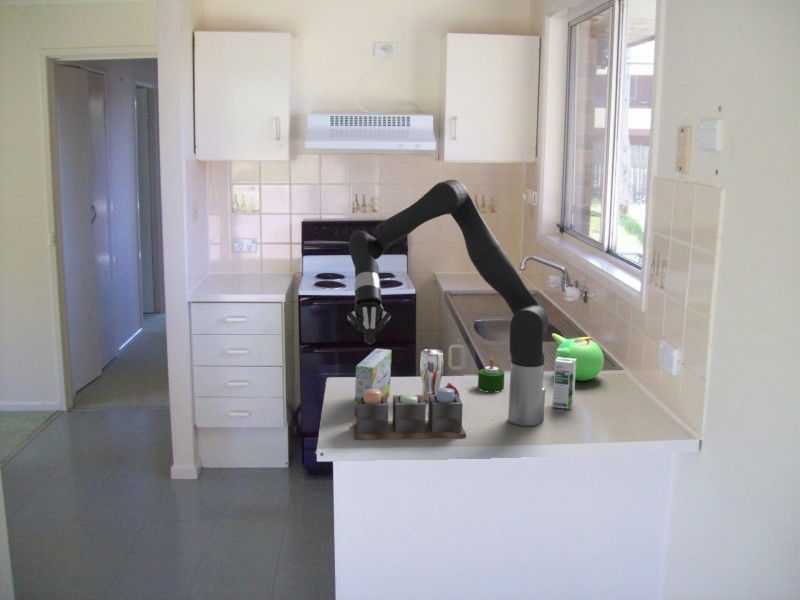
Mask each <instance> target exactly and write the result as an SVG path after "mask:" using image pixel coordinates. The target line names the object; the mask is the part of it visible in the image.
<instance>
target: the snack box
mask: <svg viewBox="0 0 800 600" xmlns="http://www.w3.org/2000/svg"><path fill="white" fill-rule="evenodd" d="M392 352H393V351H392V349H386V348H385V349H384V348H375V349H373V350H372V351H371V352H370V353H369V354H368V355H367V356H366V357H365V358H364V359H362V360H361V361H360V362H359V363H358V364H357V365H356V366H355V386H354V387H355V390H354V416H357V396H364V390H367V389H378V390H380V391H381V396H386V398H387V399H389V398H390V396H391V368H392V367H391V366H392Z"/></svg>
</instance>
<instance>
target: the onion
mask: <svg viewBox="0 0 800 600" xmlns="http://www.w3.org/2000/svg"><path fill="white" fill-rule="evenodd" d="M443 388H451V389H453V390H454V394H457V395H458V397H459V398H460V394H459V391H458V389H457V387H455V386H453V384H452V383H451V382H448V383H447V385H446V386H444V387H443Z"/></svg>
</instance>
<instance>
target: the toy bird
mask: <svg viewBox="0 0 800 600" xmlns="http://www.w3.org/2000/svg"><path fill="white" fill-rule="evenodd" d="M551 336H552V338H553V339H554V341H556V343H557V344H558V347H557V348H556V350H555V354H554V355H555V356H554V359H555V361H556V359H557V358H558V357H561V358H570V359H576V372H575V381H577V380H579V381H582V382H583V380H584V381H588V380H591V379H593V378H595V377H597V376H598V375H599V374H600V373H601V372H602V370H603V368H604V363H605V358H604V357H605V356H604V354H603V350H602V348H601V347H600V346H599V344H597V343H596V342H595V341H593V340H591V338H592V337H591V336H581V337H575V336H574V337H572V338H565V337H563V336H561V335H559V334H557V333H551ZM555 361H554V362H555ZM579 381H578V382H579Z"/></svg>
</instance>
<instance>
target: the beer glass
mask: <svg viewBox="0 0 800 600" xmlns="http://www.w3.org/2000/svg"><path fill="white" fill-rule="evenodd" d="M420 352H421V353H420V361H419V363H420V364H419V366H420V370H419V372H420V378H421V385H422V386H421V387H422V391H421V393H420V395H422V397H423V399H424V402H425V403H426V402H427V403H429V395H437V389H439V388H441V387H440V386H441V381H442V377H443V371H444V352H443V351H442V350H440V349H437V348H436V349H435V348H427V349H423V350H421V351H420Z"/></svg>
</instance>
